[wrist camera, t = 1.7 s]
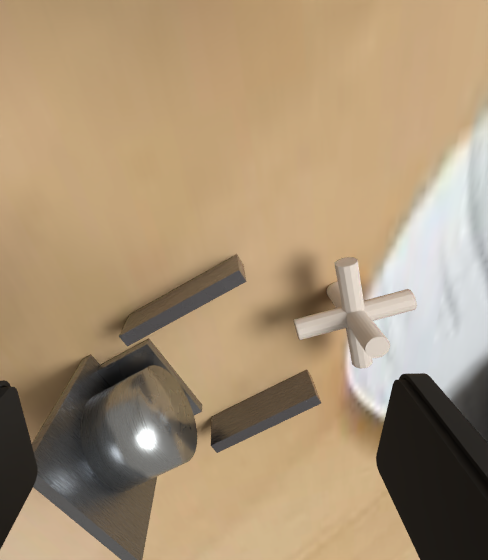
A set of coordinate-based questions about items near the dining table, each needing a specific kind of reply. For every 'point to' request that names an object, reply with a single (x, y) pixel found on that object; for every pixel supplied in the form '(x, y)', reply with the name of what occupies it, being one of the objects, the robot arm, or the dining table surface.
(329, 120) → the dining table surface
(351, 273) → the pipe connector
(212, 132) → the dining table surface
